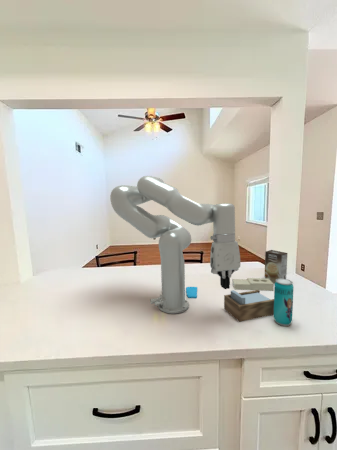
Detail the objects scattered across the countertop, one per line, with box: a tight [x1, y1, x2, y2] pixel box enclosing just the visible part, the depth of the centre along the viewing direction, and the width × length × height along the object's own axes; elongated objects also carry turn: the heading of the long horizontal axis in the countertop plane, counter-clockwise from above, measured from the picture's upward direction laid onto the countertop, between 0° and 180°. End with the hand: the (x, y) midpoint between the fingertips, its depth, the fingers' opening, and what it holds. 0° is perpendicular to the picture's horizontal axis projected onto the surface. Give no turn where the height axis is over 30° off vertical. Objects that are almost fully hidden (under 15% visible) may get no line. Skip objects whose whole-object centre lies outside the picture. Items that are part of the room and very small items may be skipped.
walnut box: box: [223, 290, 274, 323], centre depth 83 cm, size 16×10×6 cm, turn 107°
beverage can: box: [273, 278, 294, 327], centre depth 74 cm, size 6×6×15 cm
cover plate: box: [230, 289, 271, 305], centre depth 83 cm, size 13×7×4 cm, turn 107°
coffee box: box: [263, 249, 288, 284], centre depth 113 cm, size 9×6×16 cm
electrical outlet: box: [231, 277, 275, 292], centre depth 107 cm, size 7×4×18 cm
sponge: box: [185, 286, 198, 299], centre depth 102 cm, size 2×12×6 cm
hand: (225, 287), depth 78 cm, fingers closed
